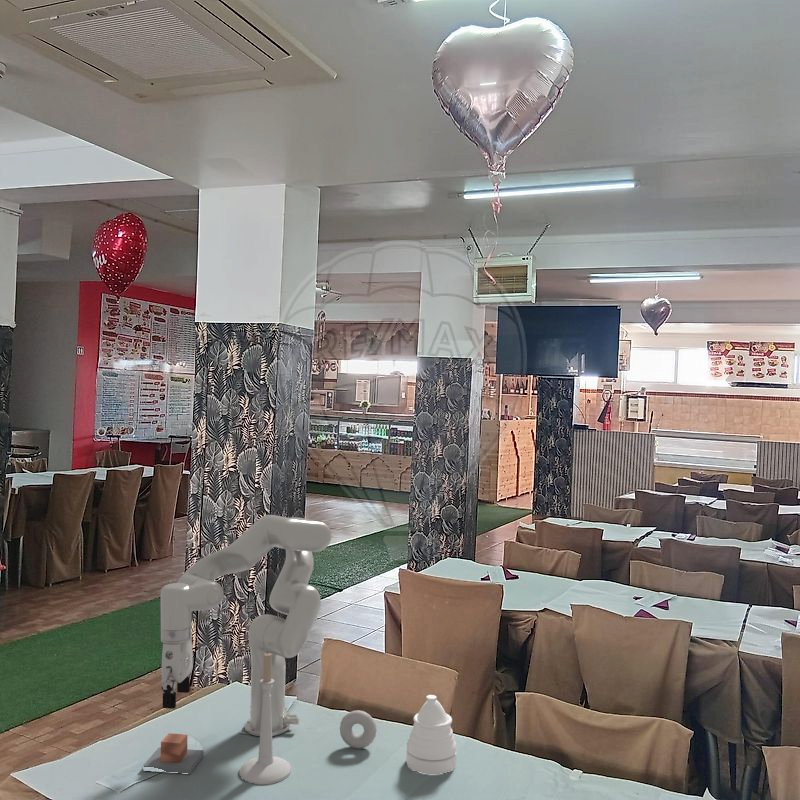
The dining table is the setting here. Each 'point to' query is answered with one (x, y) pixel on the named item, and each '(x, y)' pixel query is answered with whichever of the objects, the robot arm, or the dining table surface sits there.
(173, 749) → the brown cube
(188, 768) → the slate board
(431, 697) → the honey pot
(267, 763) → the candlestick
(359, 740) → the donut
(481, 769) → the dining table surface
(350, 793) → the dining table surface
